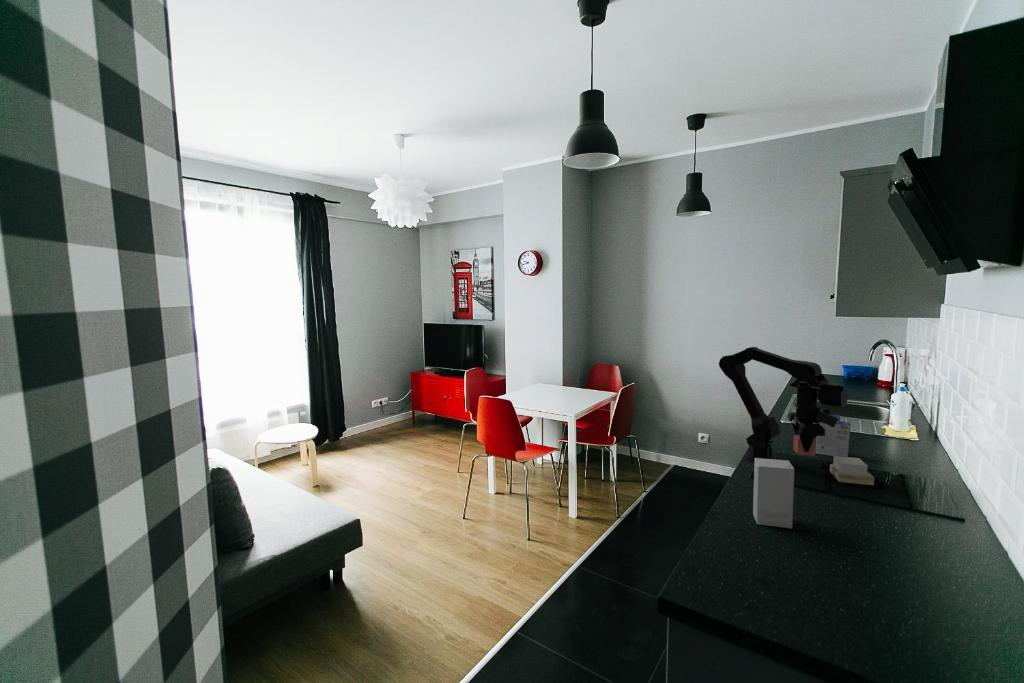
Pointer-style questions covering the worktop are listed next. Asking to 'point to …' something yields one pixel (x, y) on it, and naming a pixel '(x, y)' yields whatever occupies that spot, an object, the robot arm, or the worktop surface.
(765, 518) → the skincare box
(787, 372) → the robot arm
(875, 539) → the worktop surface
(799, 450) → the red cube
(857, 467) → the tower top
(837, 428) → the ink cartridge box
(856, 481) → the tower base
